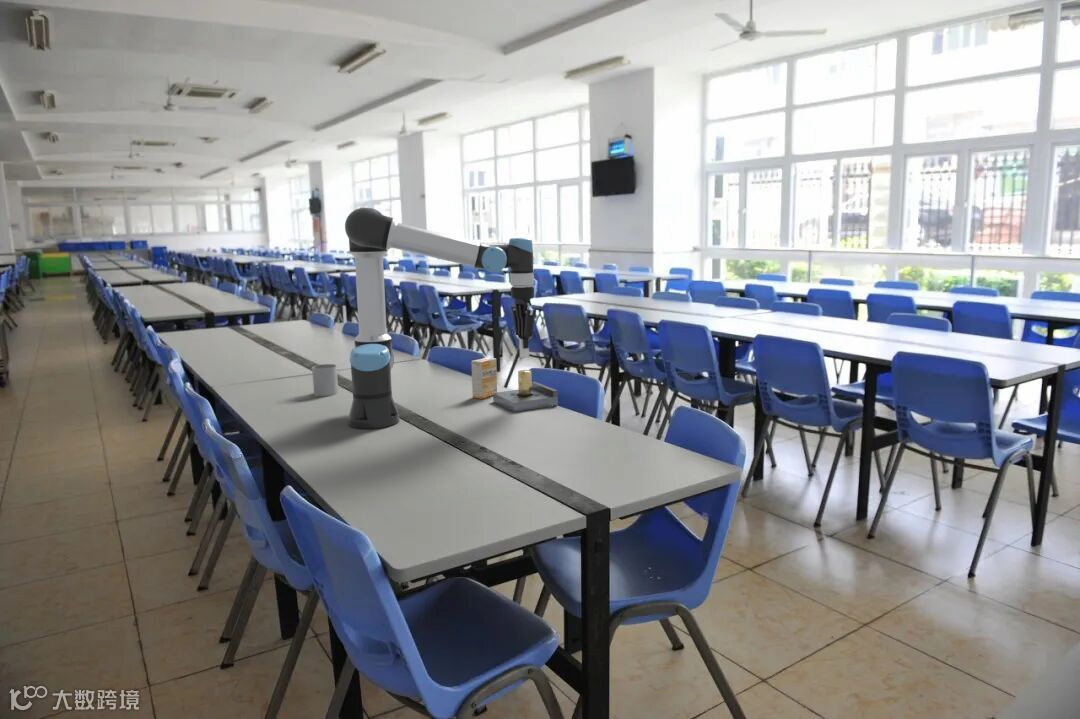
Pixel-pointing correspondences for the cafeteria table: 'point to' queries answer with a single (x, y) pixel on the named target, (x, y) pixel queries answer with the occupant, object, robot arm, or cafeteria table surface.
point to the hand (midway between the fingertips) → (524, 357)
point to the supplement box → (484, 377)
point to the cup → (325, 380)
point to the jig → (527, 398)
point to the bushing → (525, 383)
